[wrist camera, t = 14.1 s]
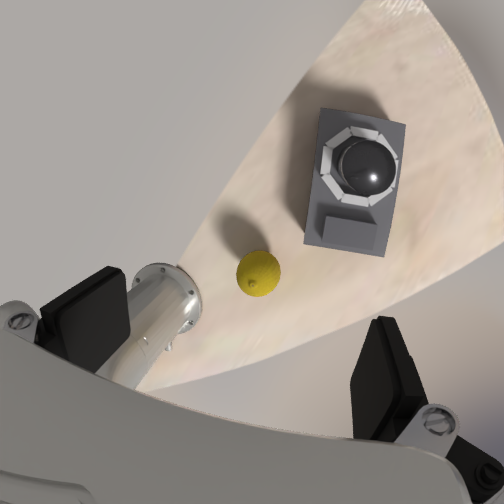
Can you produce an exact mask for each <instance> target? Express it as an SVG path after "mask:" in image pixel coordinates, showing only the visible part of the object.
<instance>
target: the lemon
mask: <svg viewBox="0 0 504 504" xmlns="http://www.w3.org/2000/svg"><path fill="white" fill-rule="evenodd" d="M280 274H281V271H280V265H279V263H278V261H277V259H276V258H275V257H274V256H273V255H272V254H270V253H268V252H266V251H253V252H251V253H249V254H247V255H246V256H245V257H244V258H243V259H242V260H241V261H240V263H239V265H238V268H237V273H236V276H237V282H238V285H239V287H240V288H241V290H242V291H243V292H245V293H246V294H248V295H250V296H254V297H260V296H264V295H267V294H268V293H270V292H271V291H272V290H273V289H274V288H275V287H276V286H277V284H278V282H279V279H280Z"/></svg>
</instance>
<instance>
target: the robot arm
mask: <svg viewBox="0 0 504 504" xmlns="http://www.w3.org/2000/svg"><path fill="white" fill-rule="evenodd" d="M192 290H193V291H192ZM40 312H41V316H42V318H41V319H40V318H39V316H38V315H37V314H36V312H35V311H34V310H33V309H32V308H31V307H30V306H29V305H28V304H26V303H24V302H22V301H17V300H14V301H10V302H7V303H5V304H3V305H1V306H0V504H504V467H503V466H502V464H501V463H500V462H499V461H497V460H496V459H495V458H493V457H491V456H489V455H488V454H487V453H485V452H483V451H482V450H480V449H478V448H477V447H475V446H474V445H472V444H471V443H469V442H467V441H466V440H464V439H463V438H461V437H460V436H458V435H457V434H458V432H459V429H460V423H459V419H458V417H457V416H456V414H455V413H454V412H453V411H452V410H451V409H449V408H448V407H446V406H443V405H440V404H429V403H428V400H427V397H426V394H425V392H424V388H423V386H422V383H421V380H420V377H419V374H418V372H417V369H416V367H415V364H414V361H413V358H412V357H411V356H410V355H409V353H408V350H407V347H406V345H405V342H404V340H403V337H402V335H401V332H400V330H399V328H398V325H397V323H396V320H395V319H394V318H393V317H385V316H378V318H377V319H373V320H372V321H371V324H370V327H369V330H368V333H367V336H366V339H365V342H364V344H363V348H362V350H361V353H360V356H359V358H358V361H357V364H356V366H355V369H354V372H353V374H352V377H351V381H350V391H351V404H352V418H353V438H354V439H352V438H342V437H334V436H324V435H315V434H308V433H301V432H294V431H288V430H282V429H276V428H270V427H265V426H260V425H255V424H250V423H245V422H241V421H236V420H232V419H228V418H224V417H220V416H216V415H212V414H208V413H204V412H201V411H197V410H194V409H190V408H187V407H183V406H180V405H177V404H174V403H171V402H168V401H165V400H161V399H159V398H156V397H153V396H150V395H147V394H145V393H142V392H139V391H136V390H135V388H136V387H137V386H138V384H139V383H140V381H141V380H142V379H143V377H144V376H145V375H146V373H147V372H148V371H149V369H150V368H151V367H152V365H153V364H154V363H155V361H156V360H157V359H158V357H159V356H160V355H161V353H162V352H163V351H164V349H165V350H166V351H171V350H172V340H173V339H174V338H175V336H176V335H177V334H182V333H185V332H187V331H189V330H191V329H192V328H193V327H194V326H195V325H196V323H197V322H198V320H199V318H200V316H201V312H202V301H201V296H200V293H199V291H198V289H197V287H196V285H195V283H194V282H193V281H192V280H191V278H190V277H189V276H188V275H187V274H186V273H184V272H183V271H182V270H180V269H179V268H177V267H175V266H172V265H170V264H166V263H153V264H150V265H147V266H145V267H144V268H142V269H141V270H140V271H139V272H138V273H137V274H136V276H135V277H134V280H133V283H132V289H131V290H130V291H129V292H127V291H126V279H125V274H124V273H123V272H122V270H121V269H119V268H115V267H111V266H106V267H105V268H103V269H102V270H100V271H98V272H97V273H95V274H93V275H92V276H90V277H88V278H87V279H85V280H83V281H82V282H80V283H79V284H77V285H76V286H74V287H72V288H71V289H69V290H67V291H66V292H64V293H63V294H61V295H60V296H58V297H57V298H55V299H54V300H52V301H50V302H49V303H47V304H46V305H45V306H43V307H41V308H40Z"/></svg>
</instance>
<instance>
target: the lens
mask: <svg viewBox="0 0 504 504" xmlns="http://www.w3.org/2000/svg"><path fill="white" fill-rule="evenodd" d="M337 171H338V173H339V176H340V177H341V179H342V180H343V181H344V182H345V183H346V184H348V185H349V186H350V187H351V188H353V189H354V190H356V191H357V192H359V193H361V194H364V195H377V194H380V193H383V192H384V191H386V190H387V189H388V188H389V187H390V186H391V184H392V183H393V181H394V178H395V175H396V164H395V160H394V157H393V155H392V154H391V152H390V151H389V150H388V149H387V148H386V147H385V146H384V145H382V144H381V143H379V142H376V141H371V140H365V141H360V142H357V143H354V144H352V145H349V146H347V147H345V148H344V149H343V150H342V151H341V152H340V154H339V156H338V159H337Z"/></svg>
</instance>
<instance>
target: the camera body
mask: <svg viewBox="0 0 504 504" xmlns="http://www.w3.org/2000/svg"><path fill="white" fill-rule="evenodd" d="M405 127H406V124H402V123H398V122H394V121H390V120H385V119H381V118H376V117H372V116H367V115H362V114H357V113H351V112H346V111H340V110H334V109H327V108H321V109H320V116H319V126H318V135H317V144H316V153H315V161H314V169H313V177H312V185H311V193H310V200H309V207H308V214H307V221H306V228H305V235H304V243H303V244H306V245H312V246H319V247H325V248H331V249H337V250H343V251H349V252H355V253H361V254H367V255H373V256H379V257H384V255H385V251H386V246H387V242H388V237H389V233H390V228H391V223H392V218H393V213H394V207H395V202H396V196H397V190H398V184H399V177H400V170H401V163H402V155H403V147H404V137H405ZM365 140H371V141H376V142H379V143H381V144H382V145H384V146H385V147H386V148H387V149H388V150H389V151H390V152H391V154H392V155H393V157H394V160H395V164H396V175H395V178H394V181H393V183H392V184H391V186H390V187H389V188H388V189H387V190H386V191H384V192H383V193H380V194H377V195H364V194H361V193H359V192H357V191H356V190H354V189H353V188H351V187H350V186H349V185H348V184H346V183H345V182H344V181H343V180H342V179H341V177H340V176H339V173H338V171H337V159H338V156H339V154H340V152H341V151H342V150H343V149H344V148H345V147H347V146H349V145H352V144H354V143H357V142H360V141H365Z"/></svg>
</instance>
